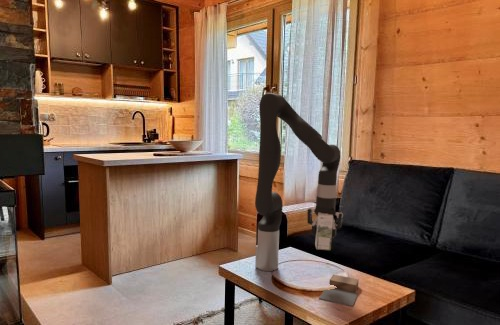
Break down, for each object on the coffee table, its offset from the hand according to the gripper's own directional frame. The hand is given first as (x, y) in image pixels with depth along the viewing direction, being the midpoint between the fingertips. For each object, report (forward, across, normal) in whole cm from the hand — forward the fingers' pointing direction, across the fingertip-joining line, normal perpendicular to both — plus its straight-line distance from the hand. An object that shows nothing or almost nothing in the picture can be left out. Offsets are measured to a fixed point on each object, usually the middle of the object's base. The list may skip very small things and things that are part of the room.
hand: (323, 236), depth 147 cm
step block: (+19, +10, -1) cm, 21 cm away
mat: (+18, +10, -10) cm, 23 cm away
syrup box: (+5, 0, 0) cm, 5 cm away
